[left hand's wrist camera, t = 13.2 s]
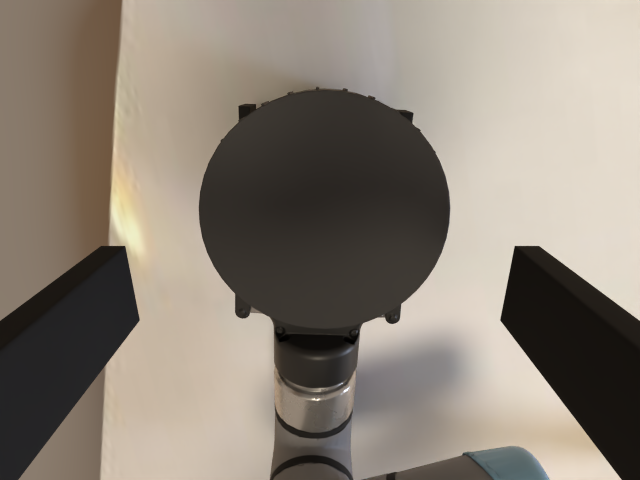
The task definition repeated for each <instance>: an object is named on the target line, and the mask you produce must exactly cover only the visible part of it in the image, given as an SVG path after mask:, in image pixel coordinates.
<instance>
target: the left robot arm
mask: <svg viewBox="0 0 640 480" xmlns="http://www.w3.org/2000/svg"><path fill="white" fill-rule="evenodd" d="M138 322H139V314H138V309H137V304H136V299H135V294H134V289H133V284H132V279H131V274H130V268H129V263H128V258H127V253H126V248H125V246H101V247H99V248H98V249H97V250H95V251H94V252H92V253H91V254H90V255H89V256H87V257H86V258H84V259H83V260H82V261H80V262H79V263H78V264H76V265H75V266H74V267H72V268H71V269H70V270H68V271H67V272H66V273H64V274H63V275H62V276H60V277H59V278H57V279H56V280H55V281H53V282H52V283H51V284H49V285H48V286H47V287H45V288H44V289H43V290H41V291H40V292H39V293H37V294H36V295H35V296H33V297H32V298H31V299H29V300H28V301H26V302H25V303H24V304H22V305H21V306H20V307H18V308H17V309H16V310H14V311H13V312H12V313H10V314H9V315H8V316H6V317H5V318H4V319H2V320H1V321H0V480H18V479H19V478H20V477H21V475H22V474H23V473H24V471H25V470H26V469H27V467H28V466H29V465H30V464H31V462H32V461H33V460H34V458H35V457H36V456H37V454H38V453H39V452H40V450H41V449H42V448H43V446H44V445H45V444H46V442H47V441H48V440H49V439H50V437H51V436H52V435H53V433H54V432H55V431H56V429H57V428H58V427H59V425H60V424H61V423H62V421H63V420H64V419H65V418H66V416H67V415H68V414H69V412H70V411H71V410H72V408H73V407H74V406H75V404H76V403H77V402H78V400H79V399H80V398H81V397H82V395H83V394H84V393H85V391H86V390H87V389H88V387H89V386H90V385H91V383H92V382H93V381H94V380H95V378H96V377H97V376H98V374H99V373H100V372H101V370H102V369H103V368H104V366H105V365H106V364H107V362H108V361H109V360H110V359H111V357H112V356H113V355H114V353H115V352H116V351H117V349H118V348H119V347H120V345H121V344H122V343H123V341H124V340H125V339H126V338H127V336H128V335H129V334H130V332H131V331H132V330H133V328H134V327H135V326H136V324H137V323H138ZM501 322H502V323H503V324H504V326H505V327H506V328H507V330H508V331H509V332H510V334H511V335H512V336H513V338H514V339H515V340H516V341H517V343H518V344H519V345H520V347H521V348H522V349H523V351H524V352H525V353H526V355H527V356H528V357H529V359H530V360H531V361H532V362H533V364H534V365H535V366H536V368H537V369H538V370H539V372H540V373H541V374H542V376H543V377H544V378H545V380H546V381H547V382H548V383H549V385H550V386H551V387H552V389H553V390H554V391H555V393H556V394H557V395H558V397H559V398H560V399H561V401H562V402H563V403H564V404H565V406H566V407H567V408H568V410H569V411H570V412H571V414H572V415H573V416H574V418H575V419H576V420H577V422H578V423H579V424H580V425H581V427H582V428H583V429H584V431H585V432H586V433H587V435H588V436H589V437H590V439H591V440H592V441H593V443H594V444H595V445H596V446H597V448H598V449H599V450H600V452H601V453H602V454H603V456H604V457H605V458H606V460H607V461H608V462H609V464H610V465H611V466H612V467H613V469H614V470H615V471H616V473H617V474H618V475H619V477H620V478H621V479H622V480H640V321H639V320H638V319H636V318H635V317H634V316H632V315H631V314H630V313H628V312H627V311H626V310H624V309H623V308H622V307H620V306H619V305H618V304H616V303H615V302H614V301H612V300H611V299H609V298H608V297H607V296H605V295H604V294H603V293H601V292H600V291H599V290H597V289H596V288H595V287H593V286H592V285H591V284H589V283H588V282H587V281H585V280H584V279H583V278H581V277H580V276H579V275H577V274H576V273H574V272H573V271H572V270H570V269H569V268H568V267H566V266H565V265H564V264H562V263H561V262H560V261H558V260H557V259H556V258H554V257H553V256H552V255H550V254H549V253H548V252H546V251H545V250H544V249H542V248H541V247H539V246H515V248H514V253H513V258H512V263H511V268H510V273H509V279H508V284H507V289H506V294H505V299H504V304H503V309H502V314H501Z"/></svg>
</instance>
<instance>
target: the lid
mask: <svg viewBox="0 0 640 480" xmlns="http://www.w3.org/2000/svg"><path fill="white" fill-rule="evenodd" d="M261 105H262V106H261V107H259V108H258V109H256V110H254V111H253V112H251V113H250V114H249V115H247V116H246V117H244V118H242V119H240V120H239V123H238V124H237V125H236V126H235V127H234V128H232V129H231V130H230V131H229V132H228V134H227V135H226V136H225V138H224V139H222V140H221V143H220V144H219V145H218V147H217V149H216V151H215V152H214V154H213V156H212V158H211V159H210V162H209V164H208V167H207V169H206V172H205V174H204V178H203V182H202V186H201V191H200V200H199V220H200V227H201V233H202V238H203V241H204V244H205V247H206V250H207V253H208V255H209V257H210V259H211V261H212V263H213V265H214V267H215V269H216V270H217V272H218V273H219V275H220V276H221V278H222V279H223V280H224V282H225V283H226V284H227V285H228V286H229V287H230V289H231V290H232V291H233V292H234V293H235V294H237V295H238V296H239V297H240V298H241V299H242V300H243V301H245V302H246V303H247V304H249V305H250V306H252V307H253V308H254V309H256V310H258V311H260V312H261V313H263V314H265V315H267V316H269V317H271V318H274V319H276V320H279V321H281V322H285V323H288V324H292V325H295V326H301V327H307V328H319V329H329V328H342V327H348V326H353V325H357V324H361V323H364V322H367V321H370V320H372V319H375V318H377V317H380V316H382V315H384V314H385V313H387V312H389V311H391V310H393V309H394V308H396V307H397V306H398V305H400V304H401V303H403V302H404V301H406V300H407V299H408V298H409V297H410V296H411V295H412V294H413V293H414V292H415V291H417V289H418V288H419V287H420V286H421V285H422V284H423V282H424V281H425V280H426V279H427V277H428V276H429V274H430V273H431V271H432V270H433V268H434V267H435V265H436V263H437V261H438V259H439V257H440V255H441V253H442V250H443V247H444V244H445V241H446V238H447V233H448V227H449V220H450V199H449V190H448V186H447V181H446V177H445V174H444V171H443V169H442V166H441V163H440V161H439V159H438V157H437V155H436V154H435V153H436V152H435V151H434V150H433V148H432V146H431V145H430V144H429V142H428V141H427V140H426V138H425V137H424V136H423V134H422V133H421V132H420V131H421V130H420V129H418V128H416V127H415V126H414V125H413V124H412V123H411V122H410V121H409V120H408V119H406V118H405V117H404V116H402V115H401V114H399V113H400V111H398V110H396V109H393V108H390V107H388V106H386V105H385V104H383V103H381V102H379V101H377V100H375V97H372V96H368V97H366V96H363V95H360V94H357V93H353V92H348V89H344V88H343V90H335V89H319V87H316V89H314V90H305V91H301V92H296V93H293V91H292V92H289V93H288V95H286V96H284V97H281V98H278V99H275V100H273V101H271V102H269V101H267V102H265V103H262V104H261Z"/></svg>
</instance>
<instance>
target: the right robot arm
mask: <svg viewBox="0 0 640 480" xmlns="http://www.w3.org/2000/svg"><path fill="white" fill-rule="evenodd" d="M254 110H256V104H244V105H240V106H239V120H240V119H242V118H244V117H246V116H247V115H249V114H250V113H251V112H253V111H254ZM398 111H400V113H399V114H401V115H402V116H404V117H405V118H406V119H408V120H409V121H410V122H411V123H412V120H413V113H412V112H409V111H407V110H398ZM400 311H401V304H400V305H398V306H397V307H396V308H394V309H393V310H391V311H389V312H387V313H385V314H384V315H382V316H380V317H385V319H386V321H387V322H388V323H390V324H394V323H397V322H398V321H399V319H400ZM250 312H251V313H261V312H260V311H258V310H256V309H254V308H253V307H252V306H250V305H249V304H247V303H246V302H245V301H243V300H242V299H241V298H240V297H239V296H238V295H237V294H235V313H236V315H237V316H238V317H239V318H247V317H248V316H249V314H250ZM270 318H271V317H270ZM271 320H272V322H273V324H274V362H275V369H274V386H275V441H274V452H273V460H272V467H271V474H270V480H353V476H352V463H351V445H350V443H351V421H352V411H353V405H354V394H355V383H356V367H357V359H358V348H359V337H360V328H361V326H362V324H363V323H361V324H357V325H353V326H348V327H342V328H329V329H319V328H307V327H301V326H295V325H292V324H288V323H285V322H281V321H279V320H276V319H274V318H271ZM363 480H550V479H549V478H548V476H547V474H546V472H545V471H544V469H543V468H542V466H541V465H540V463H539V462H538V461H537V459H536V458H535V457H534V456H533V455H532V454H531V453H530V452H528V451H527V450H525V449H523V448H521V447H517V446H509V447H502V448H496V449H489V450H483V451H476V452H464V453H463V455H462V456H459V457H455V458H451V459H447V460H443V461H439V462H436V463H432V464H428V465H424V466H420V467H416V468H412V469H409V470H405V471H401V472H394V473H390V474H384V475H380V476H376V477H372V478H367V479H363Z"/></svg>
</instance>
